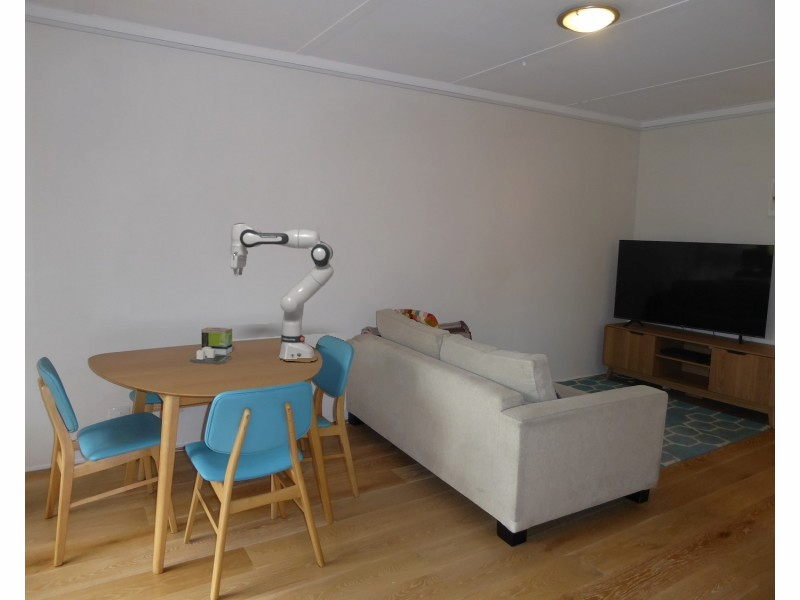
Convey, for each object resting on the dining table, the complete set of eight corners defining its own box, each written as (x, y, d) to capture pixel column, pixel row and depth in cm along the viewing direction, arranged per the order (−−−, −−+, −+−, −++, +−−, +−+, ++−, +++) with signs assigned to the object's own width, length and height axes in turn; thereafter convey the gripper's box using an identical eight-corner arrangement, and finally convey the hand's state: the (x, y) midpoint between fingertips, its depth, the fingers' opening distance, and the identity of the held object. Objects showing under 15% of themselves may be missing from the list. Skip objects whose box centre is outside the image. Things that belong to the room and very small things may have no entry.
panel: (231, 358, 313) (231, 356, 313) (222, 364, 299) (222, 361, 299) (200, 356, 314) (200, 354, 314) (189, 362, 300) (189, 359, 300)
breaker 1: (205, 358, 304) (205, 350, 303) (202, 359, 301) (202, 351, 300) (198, 357, 304) (198, 349, 303) (196, 359, 301) (196, 351, 300)
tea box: (232, 352, 330) (233, 327, 328) (225, 355, 320) (226, 330, 318) (208, 350, 331) (208, 325, 329) (200, 353, 321) (201, 328, 320)
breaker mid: (215, 357, 308) (215, 349, 307) (213, 358, 305) (213, 350, 304) (209, 356, 308) (209, 348, 307) (206, 357, 305) (207, 349, 304)
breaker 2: (211, 354, 312) (211, 347, 312) (209, 355, 309) (209, 348, 309) (205, 354, 313) (205, 346, 312) (203, 355, 310) (203, 347, 309)
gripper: (239, 252, 304) (238, 277, 305) (248, 251, 324) (247, 274, 326) (227, 252, 303) (227, 277, 305) (237, 250, 324) (237, 274, 325)
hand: (238, 275), depth 315 cm, fingers open, 8 cm apart
